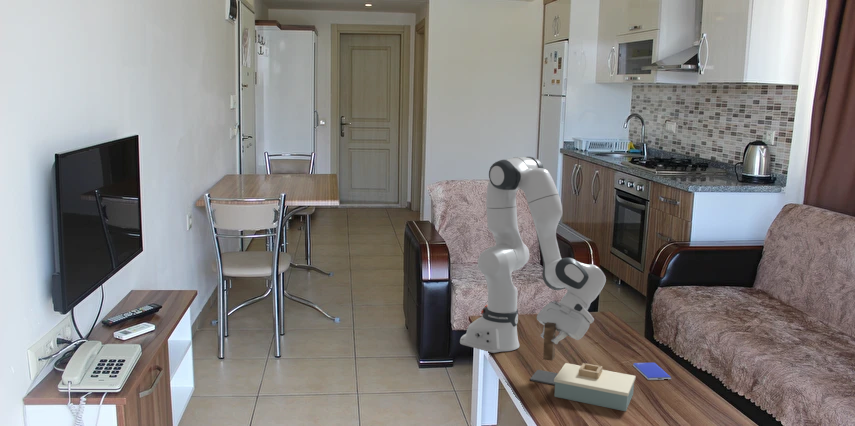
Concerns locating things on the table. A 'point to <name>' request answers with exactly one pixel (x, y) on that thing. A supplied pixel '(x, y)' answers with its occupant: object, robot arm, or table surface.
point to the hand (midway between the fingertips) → (548, 340)
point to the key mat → (544, 377)
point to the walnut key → (549, 341)
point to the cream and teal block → (594, 386)
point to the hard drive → (651, 371)
